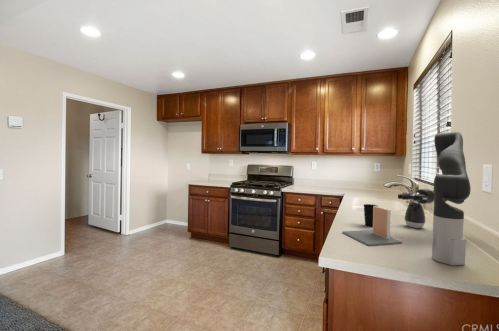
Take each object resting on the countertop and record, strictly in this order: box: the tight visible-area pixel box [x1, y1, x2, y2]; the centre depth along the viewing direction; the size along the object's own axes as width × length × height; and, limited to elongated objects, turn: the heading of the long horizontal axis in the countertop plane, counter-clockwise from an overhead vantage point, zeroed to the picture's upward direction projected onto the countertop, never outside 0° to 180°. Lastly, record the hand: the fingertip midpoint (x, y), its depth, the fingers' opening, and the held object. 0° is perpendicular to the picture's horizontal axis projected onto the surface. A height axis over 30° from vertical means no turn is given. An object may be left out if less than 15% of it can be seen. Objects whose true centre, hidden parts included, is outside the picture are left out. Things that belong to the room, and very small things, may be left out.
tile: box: [372, 205, 392, 239], centre depth 126 cm, size 10×2×14 cm, turn 13°
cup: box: [363, 203, 378, 228], centre depth 147 cm, size 8×8×12 cm
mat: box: [341, 229, 403, 247], centre depth 124 cm, size 20×18×1 cm
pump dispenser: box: [404, 200, 427, 229], centre depth 146 cm, size 10×10×15 cm
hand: (400, 196), depth 128 cm, fingers closed
